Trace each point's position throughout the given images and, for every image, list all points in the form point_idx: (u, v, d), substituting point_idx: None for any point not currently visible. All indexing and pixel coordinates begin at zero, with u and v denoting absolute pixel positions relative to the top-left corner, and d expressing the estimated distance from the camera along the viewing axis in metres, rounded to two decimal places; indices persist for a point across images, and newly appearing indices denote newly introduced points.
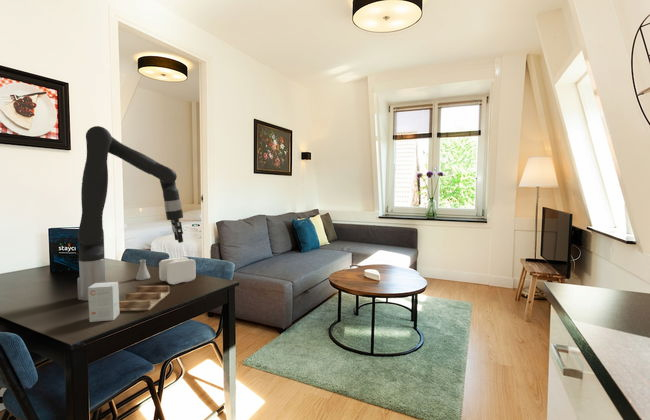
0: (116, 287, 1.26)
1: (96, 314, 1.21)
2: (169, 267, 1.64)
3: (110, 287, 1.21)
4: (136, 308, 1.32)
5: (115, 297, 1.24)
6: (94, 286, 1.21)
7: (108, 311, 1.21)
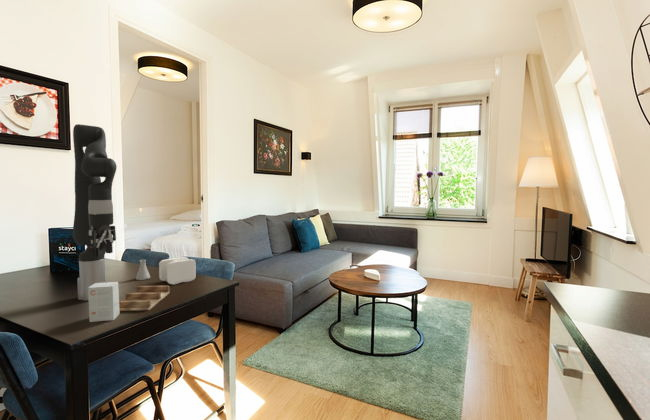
0: (116, 287, 1.26)
1: (96, 314, 1.21)
2: (169, 267, 1.64)
3: (110, 287, 1.21)
4: (136, 308, 1.32)
5: (115, 297, 1.24)
6: (94, 286, 1.21)
7: (108, 311, 1.21)
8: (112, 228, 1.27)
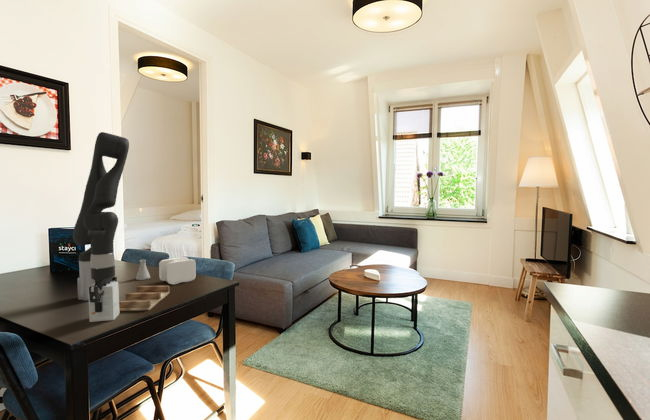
0: (116, 287, 1.26)
1: (96, 314, 1.21)
2: (169, 267, 1.64)
3: (110, 287, 1.21)
4: (136, 308, 1.32)
5: (115, 297, 1.24)
6: None
7: (108, 310, 1.21)
8: (114, 279, 1.29)
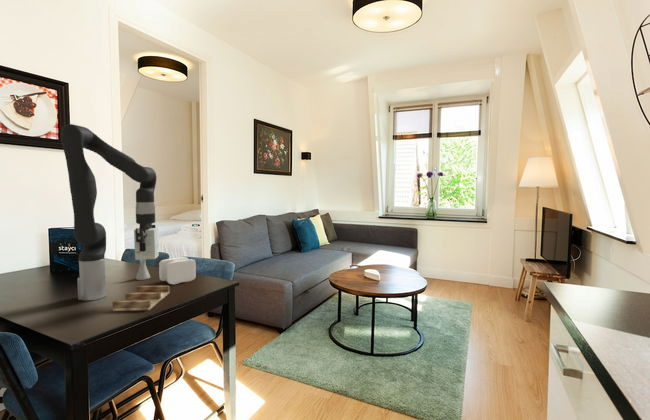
0: (156, 232, 1.47)
1: (141, 253, 1.42)
2: (169, 267, 1.64)
3: (152, 230, 1.43)
4: (136, 308, 1.32)
5: (156, 240, 1.46)
6: None
7: (151, 250, 1.43)
8: (153, 226, 1.50)
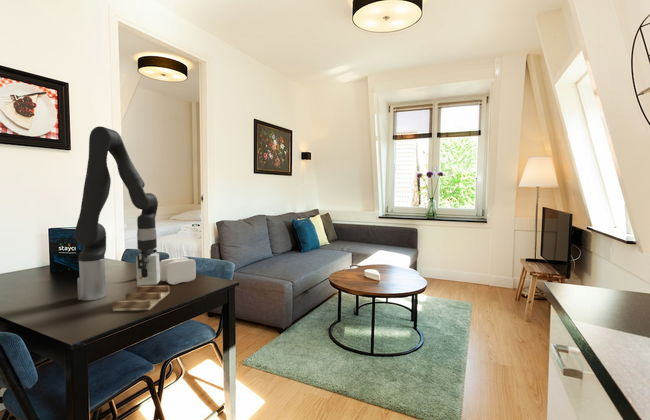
0: (158, 257, 1.49)
1: (143, 279, 1.44)
2: (169, 267, 1.64)
3: (154, 256, 1.44)
4: (136, 308, 1.32)
5: (157, 265, 1.47)
6: None
7: (153, 276, 1.45)
8: (154, 251, 1.52)
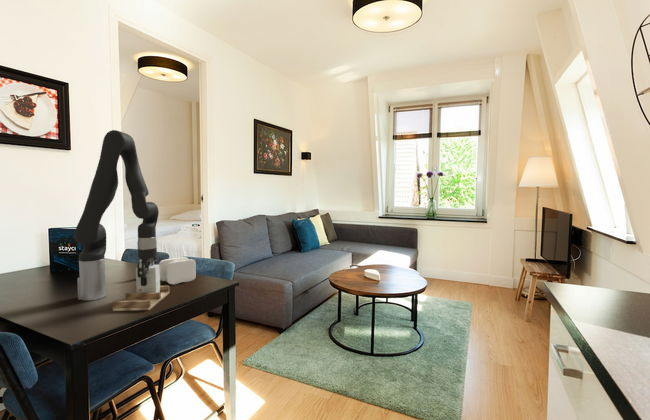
0: (158, 269, 1.49)
1: (142, 291, 1.44)
2: (169, 267, 1.64)
3: (153, 268, 1.44)
4: (136, 308, 1.32)
5: (157, 277, 1.47)
6: None
7: (152, 288, 1.45)
8: (154, 259, 1.52)
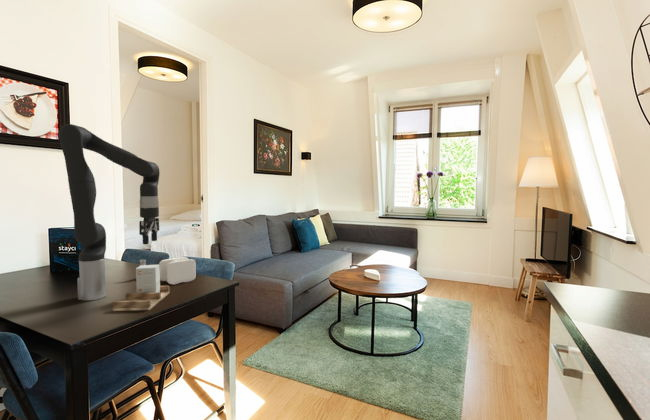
0: (158, 269, 1.49)
1: (142, 291, 1.44)
2: (169, 267, 1.64)
3: (153, 268, 1.44)
4: (136, 308, 1.32)
5: (157, 277, 1.47)
6: (140, 267, 1.44)
7: (152, 288, 1.45)
8: (156, 220, 1.53)
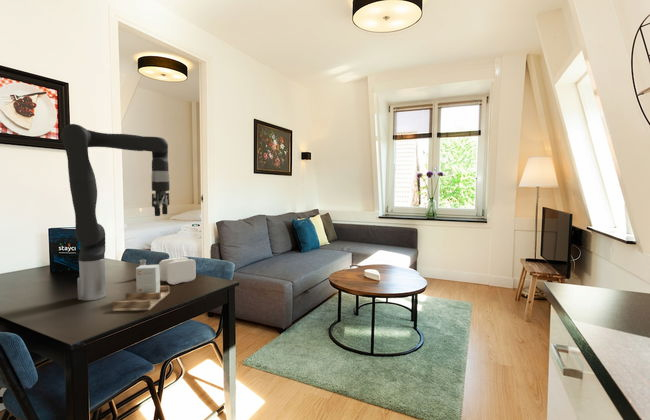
0: (158, 269, 1.49)
1: (142, 291, 1.44)
2: (169, 267, 1.64)
3: (154, 268, 1.44)
4: (136, 308, 1.32)
5: (157, 277, 1.47)
6: (140, 267, 1.44)
7: (152, 288, 1.45)
8: (167, 195, 1.61)
